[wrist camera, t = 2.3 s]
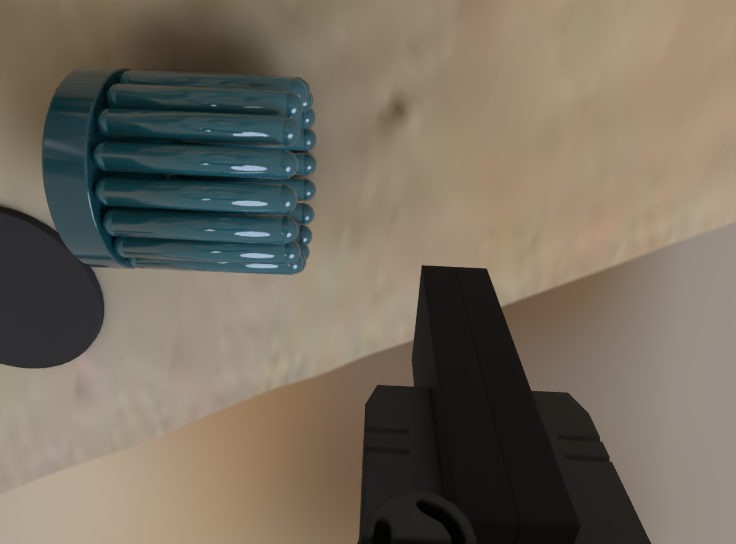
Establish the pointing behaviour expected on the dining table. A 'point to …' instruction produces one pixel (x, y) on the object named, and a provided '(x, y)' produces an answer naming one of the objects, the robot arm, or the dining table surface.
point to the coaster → (43, 296)
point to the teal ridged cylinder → (181, 170)
